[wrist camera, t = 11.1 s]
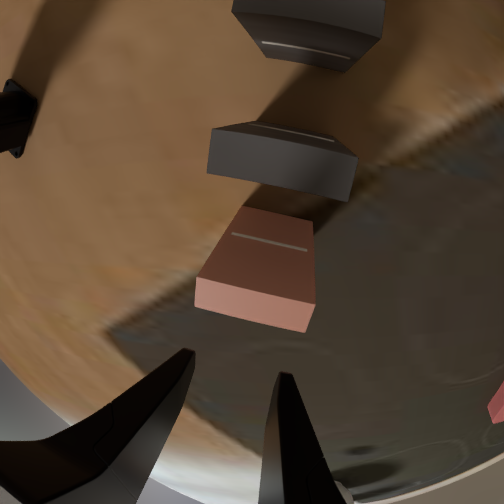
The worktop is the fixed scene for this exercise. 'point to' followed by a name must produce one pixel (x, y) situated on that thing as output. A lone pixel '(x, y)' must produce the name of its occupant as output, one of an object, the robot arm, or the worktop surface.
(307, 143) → the domino
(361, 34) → the domino
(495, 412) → the plaque
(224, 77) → the worktop surface
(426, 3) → the worktop surface
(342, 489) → the lidded bowl
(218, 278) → the domino
